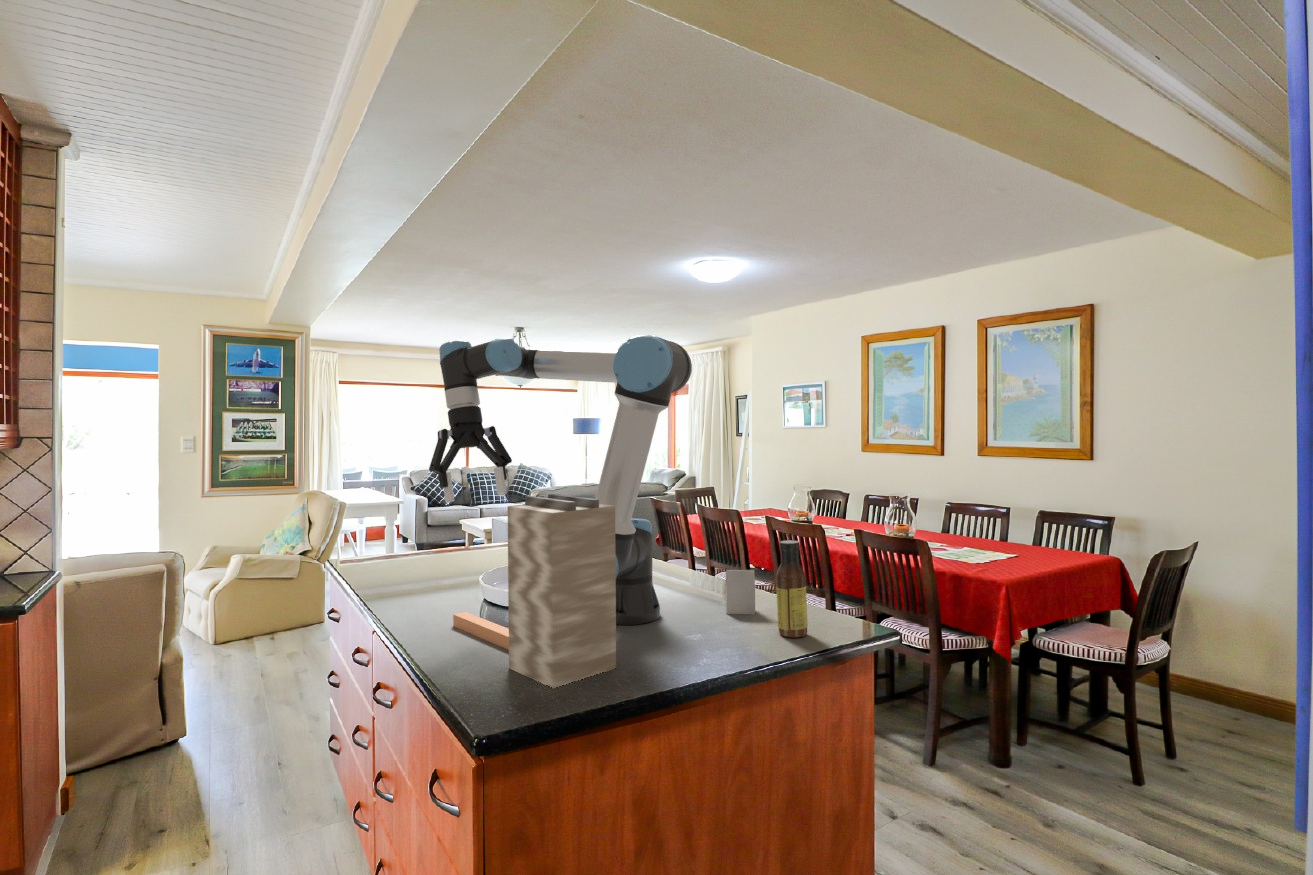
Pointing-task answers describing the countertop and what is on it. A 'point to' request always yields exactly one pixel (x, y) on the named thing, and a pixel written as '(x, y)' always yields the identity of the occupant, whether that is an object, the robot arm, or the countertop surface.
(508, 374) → the robot arm
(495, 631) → the orange bar
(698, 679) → the countertop surface
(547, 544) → the grey-brown tall block
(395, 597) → the countertop surface
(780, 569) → the sauce bottle
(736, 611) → the light grey block
